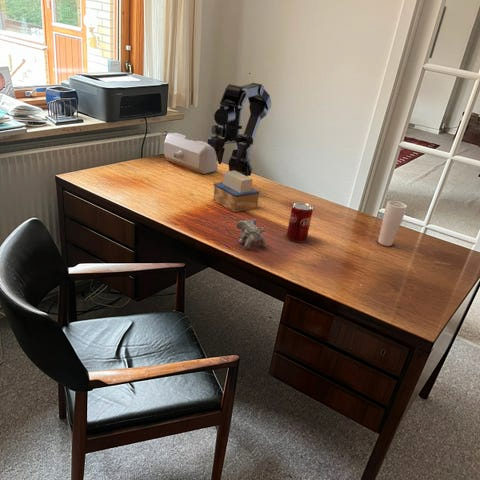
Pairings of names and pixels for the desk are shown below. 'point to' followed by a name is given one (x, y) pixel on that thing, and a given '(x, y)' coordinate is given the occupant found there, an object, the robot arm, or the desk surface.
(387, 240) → the drinking glass
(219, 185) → the blue lid
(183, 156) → the tank
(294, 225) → the soda can
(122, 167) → the desk surface
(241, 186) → the case
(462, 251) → the desk surface
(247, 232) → the gray elephant figurine
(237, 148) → the robot arm
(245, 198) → the storage box
